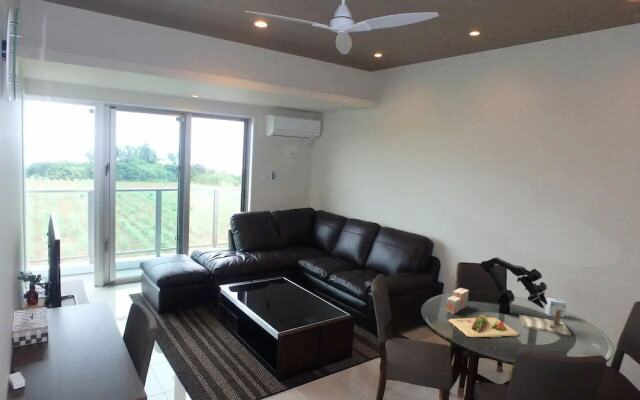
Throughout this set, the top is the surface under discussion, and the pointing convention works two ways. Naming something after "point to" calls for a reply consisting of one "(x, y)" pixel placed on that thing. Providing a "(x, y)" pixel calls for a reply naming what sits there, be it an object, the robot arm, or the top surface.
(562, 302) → the light bulb box
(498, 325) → the cutting board
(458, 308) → the stack of blocks
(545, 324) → the plywood board
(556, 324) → the block
